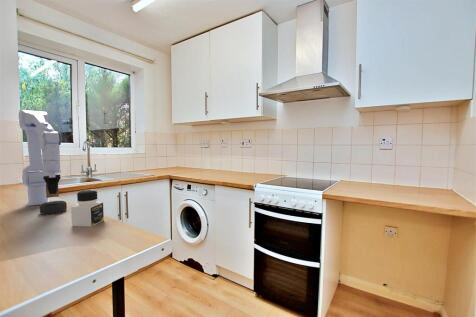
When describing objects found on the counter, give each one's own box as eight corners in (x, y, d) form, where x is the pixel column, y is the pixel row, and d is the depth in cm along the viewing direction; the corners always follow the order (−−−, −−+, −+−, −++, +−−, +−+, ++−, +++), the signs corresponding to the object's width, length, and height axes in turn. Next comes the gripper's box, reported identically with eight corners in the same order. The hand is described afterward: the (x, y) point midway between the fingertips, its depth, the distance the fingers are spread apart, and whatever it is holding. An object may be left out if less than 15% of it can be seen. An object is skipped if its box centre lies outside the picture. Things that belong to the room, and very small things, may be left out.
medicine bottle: (91, 227, 80) (90, 192, 79) (71, 226, 80) (70, 192, 79) (104, 220, 87) (103, 188, 86) (85, 220, 87) (84, 188, 87)
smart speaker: (68, 212, 98) (67, 202, 97) (40, 216, 92) (40, 206, 91) (65, 208, 104) (64, 199, 104) (39, 212, 98) (38, 202, 98)
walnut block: (46, 196, 98) (45, 184, 97) (58, 194, 100) (57, 183, 100) (46, 197, 94) (45, 185, 94) (58, 196, 97) (58, 184, 97)
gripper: (39, 160, 100) (40, 191, 100) (38, 162, 88) (39, 197, 89) (60, 159, 104) (61, 189, 105) (61, 161, 93) (62, 194, 94)
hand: (52, 192), depth 97 cm, fingers closed on walnut block, 4 cm apart
